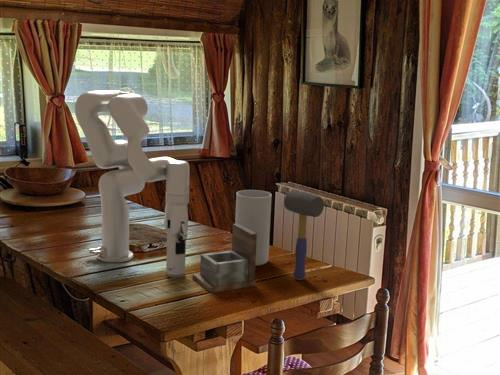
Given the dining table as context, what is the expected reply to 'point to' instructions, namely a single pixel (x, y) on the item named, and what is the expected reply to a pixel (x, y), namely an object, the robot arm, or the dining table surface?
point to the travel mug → (174, 256)
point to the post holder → (230, 263)
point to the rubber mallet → (302, 223)
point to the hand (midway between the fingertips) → (176, 250)
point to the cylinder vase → (255, 219)
